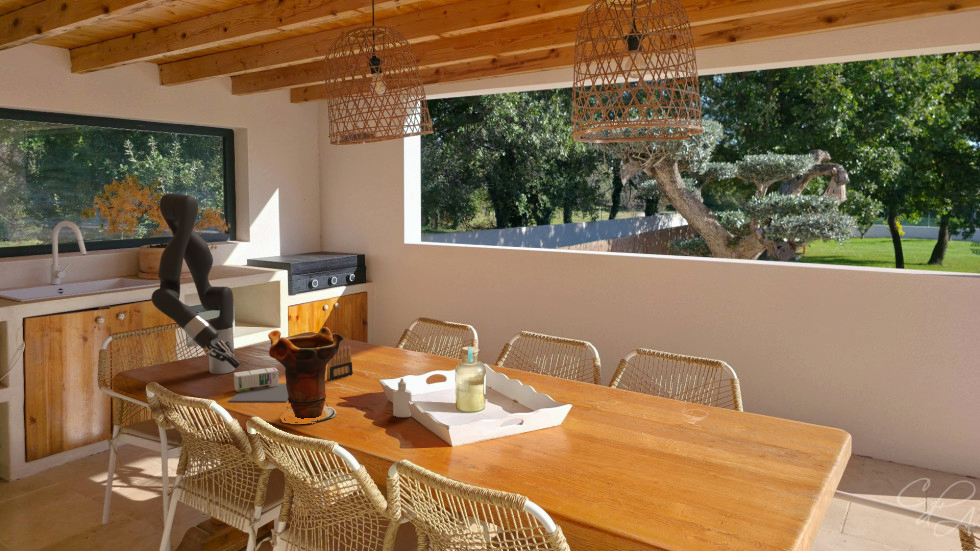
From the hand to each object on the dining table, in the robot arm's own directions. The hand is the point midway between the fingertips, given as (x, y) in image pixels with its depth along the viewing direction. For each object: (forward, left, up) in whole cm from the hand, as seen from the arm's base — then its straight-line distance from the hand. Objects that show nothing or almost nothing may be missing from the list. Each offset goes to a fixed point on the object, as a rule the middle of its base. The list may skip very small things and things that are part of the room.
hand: (238, 366), depth 235 cm
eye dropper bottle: (+23, +60, -10) cm, 65 cm away
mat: (0, +10, -10) cm, 14 cm away
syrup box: (-1, -2, -6) cm, 7 cm away
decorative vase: (+23, +30, -10) cm, 39 cm away
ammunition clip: (-20, +30, -10) cm, 38 cm away
